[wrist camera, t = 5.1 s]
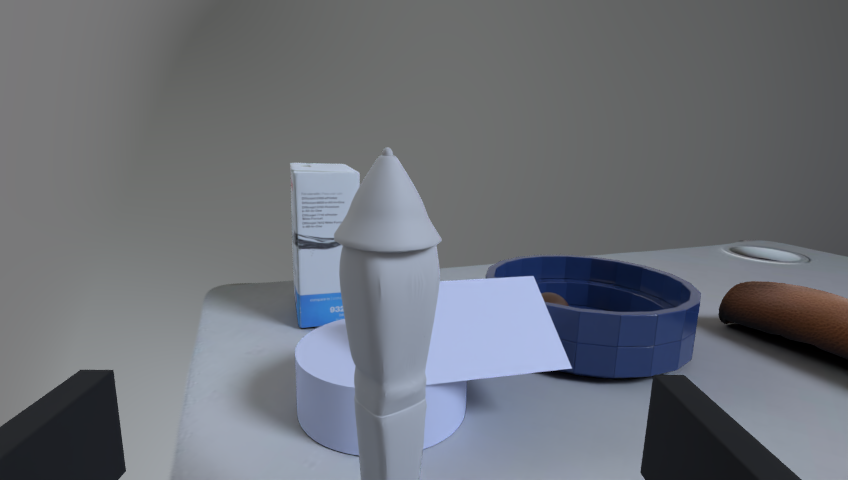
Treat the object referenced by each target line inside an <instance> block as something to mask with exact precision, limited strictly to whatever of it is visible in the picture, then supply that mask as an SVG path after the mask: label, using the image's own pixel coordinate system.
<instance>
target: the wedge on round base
mask: <svg viewBox="0 0 848 480" xmlns="http://www.w3.org/2000/svg"><path fill="white" fill-rule="evenodd" d="M295 366H296V394H297V417H298V421H299V424H300V425H301V427H302V429H303V430H304V431H305V432H306V433H307V435H308V436H310V437H311V438H312V439H313V440H315V441H316V442H318V443H320V444H322V445H323V446H326V447H328V448H331V449H333V450H336V451H339V452H343V453H347V454H353V455H359V448H358V437H357V426H356V416H355V404H354V396H355V387H354V373H355V366H356V365H355V364H354V362H353V359H352V356H351V352H350V347H349V341H348V336H347V329H346V323H345V319H341V320H338V321H334V322H331V323H328V324H325V325H323V326H320V327H318V328H316V329H314V330H313V331H311V332H309V333H308V334H307V335H305V336H304V337H303V338H302V339H301V340H300V341H299V343H298V344H297V346H296V349H295ZM563 369H572V367H571V365H570V362H569V360H568V357H567V355H566V353H565V350H564V348H563V345H562V343H561V341H560V338H559V336H558V333H557V331H556V329H555V326H554V324H553V321H552V319H551V317H550V314H549V312H548V309H547V307H546V305H545V302H544V300H543V297H542V295H541V293H540V290H539V288H538V285H537V283H536V281H535V278H534V276H524V277H506V278H489V279H472V280H454V281H440V283H439V291H438V298H437V304H436V311H435V317H434V323H433V328H432V334H431V340H430V346H429V351H428V357H427V363H426V369H425V375H426V379H427V380H426V387H425V389H426V396H425V398H426V404H427V408H426V416H425V428H424V444H423V449H426V448H428V447H431V446H433V445H436V444H437V443H439V442H441V441H443V440H445V439H446V438H447V437H449V436H450V435H451V434H453V433H454V431H455V430H456V429H457V428H458V427H459V426H460V424H461V423H462V421H463V419H464V416H465V410H466V392H467V380H475V379H484V378H492V377H501V376H510V375H519V374H528V373H536V372H545V371H554V370H563Z"/></svg>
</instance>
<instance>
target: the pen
mask: <svg viewBox="0 0 848 480" xmlns="http://www.w3.org/2000/svg"><path fill="white" fill-rule="evenodd" d="M334 241H336V242H338V243H339V244H341V245H343V247H342V251H341V257H340V266H339V277H340V289H341V297H342V304H343V310H344V317H345V323H346V329H347V336H348V341H349V347H350V352H351V356H352V359H353V362H354V364H355V365H356V366H355V373H354V387H355V396H354V404H355V416H356V426H357V437H358V448H359V460H360V471H361V480H419V477H420V470H421V462H422V454H423V444H424V428H425V416H426V408H427V404H426V398H425V396H426V389H425V387H426V380H427V379H426V375H425V369H426V363H427V357H428V351H429V346H430V340H431V334H432V328H433V323H434V317H435V311H436V304H437V298H438V291H439V283H440V270H439V261H438V253H437V247H436V245H437V244H438V243H439V242H441V237H440V236H439V234H438V233H437V231H436V230H435V228H434V226H433V225H432V223H431V221H430V220H429V217H428V215H427V213H426V210H425V207H424V204H423V202H422V200H421V198H420V196H419V194H418V192H417V190H416V188H415V187H414V185H413V183H412V181H411V180H410V178H409V176H408V174H407V173H406V171H405V170H404V168H403V166H402V165H401V164H400V162H399V160H398V159H397V157H396V156H393V152H392V150H391V149H390V148H388V147H387V148H385V149H384V150H383V152H382V155H381V156H379V157H378V158H377V160H376V161H375V163H374V164H373V166H372V167H371V169H370V170H369V172H368V173H367V175H366V177H365V178H364V180H363V182H362V183H361V185H360V187H359V188H358V190H357V192H356V194H355V196H354V198H353V200H352V202H351V205H350V208H349V210H348V213H347V215H346V216H345V218H344V220H343V221H342V223H341V224H340V226H339V227H338V229H337V230H336V232H335V233H334Z"/></svg>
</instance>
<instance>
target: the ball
mask: <svg viewBox="0 0 848 480" xmlns="http://www.w3.org/2000/svg"><path fill="white" fill-rule="evenodd" d="M541 295H542V297H543V300H544V302H549V303H554V304H559V305H565V306H569V305H568V303H567V302H566V300H565V299H564V298H563V297H561V296H560V295H558V294H556V293H551V292H545V293H541Z"/></svg>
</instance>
